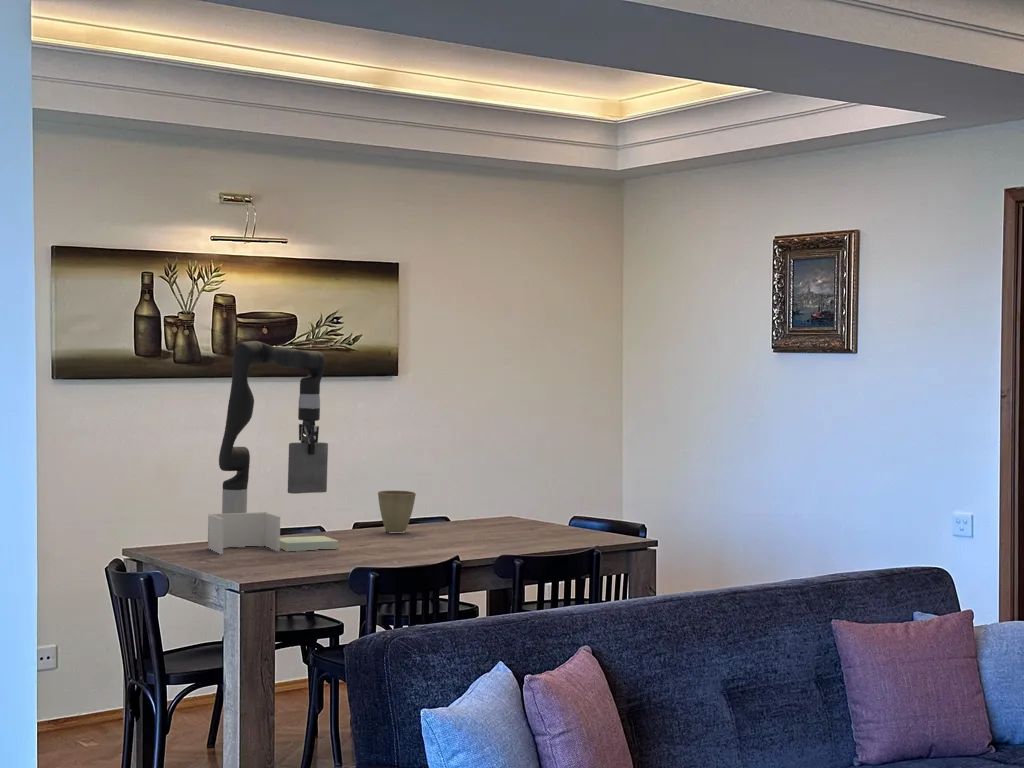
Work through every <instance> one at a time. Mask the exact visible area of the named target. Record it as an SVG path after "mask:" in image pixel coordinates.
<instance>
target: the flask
mask: <svg viewBox="0 0 1024 768" xmlns="http://www.w3.org/2000/svg"><path fill="white" fill-rule="evenodd" d="M303 440H304V442H303V443H301V442H290V443H288V465H287V467H288V468H287V471H288V472H287V493H288V494H296V495H297V494H299V495H300V494H311V493H312V494H314V493H315V494H316V493H318V494H319V493H320V494H321V493H327V492H328V491H327V489H328V487H327V486H328V461H329V460H328V457H329V454H328V453H329V443H327V442H323V441H322V442H319V441H318V443H316V444H315V454H314V455H309V454H308V439H307V438H306V436H304V437H303Z"/></svg>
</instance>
